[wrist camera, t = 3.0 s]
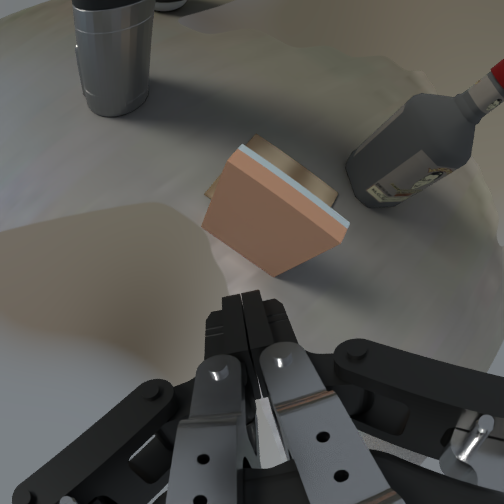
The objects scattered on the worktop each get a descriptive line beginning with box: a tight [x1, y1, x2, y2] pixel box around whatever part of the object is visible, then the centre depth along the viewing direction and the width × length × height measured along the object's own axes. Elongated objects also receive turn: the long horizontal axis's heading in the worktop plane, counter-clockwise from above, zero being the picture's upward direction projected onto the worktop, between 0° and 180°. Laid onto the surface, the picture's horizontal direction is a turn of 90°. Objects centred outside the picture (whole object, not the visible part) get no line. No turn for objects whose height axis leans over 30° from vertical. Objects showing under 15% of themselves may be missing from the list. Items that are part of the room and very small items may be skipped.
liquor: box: [346, 59, 504, 208], centre depth 28 cm, size 9×9×30 cm
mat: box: [204, 134, 338, 207], centre depth 36 cm, size 14×12×1 cm
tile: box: [201, 144, 350, 277], centre depth 27 cm, size 10×2×14 cm, turn 58°
